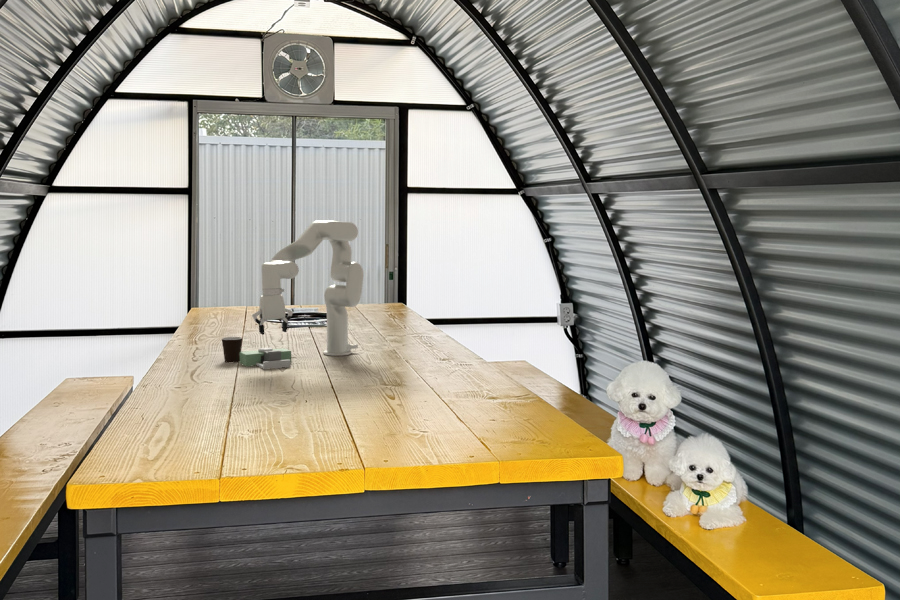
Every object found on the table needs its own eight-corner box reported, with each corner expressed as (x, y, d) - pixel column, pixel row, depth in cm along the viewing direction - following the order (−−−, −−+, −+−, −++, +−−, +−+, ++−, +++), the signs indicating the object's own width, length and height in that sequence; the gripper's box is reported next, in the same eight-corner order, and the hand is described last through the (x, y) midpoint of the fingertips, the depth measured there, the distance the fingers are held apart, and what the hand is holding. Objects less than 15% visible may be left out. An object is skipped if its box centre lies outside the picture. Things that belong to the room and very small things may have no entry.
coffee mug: (237, 363, 343) (236, 340, 342) (218, 362, 344) (218, 339, 343) (249, 358, 354) (248, 336, 353) (231, 357, 356) (230, 335, 355)
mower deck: (284, 359, 353) (284, 345, 352) (300, 366, 338) (300, 351, 337) (239, 363, 342) (239, 349, 342) (253, 370, 327) (253, 355, 326)
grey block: (275, 364, 342) (275, 348, 341) (281, 367, 336) (281, 350, 335) (264, 365, 339) (263, 349, 338) (269, 368, 333) (269, 351, 332)
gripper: (288, 290, 342) (289, 329, 344) (248, 293, 333) (250, 333, 335) (294, 291, 335) (296, 332, 338) (254, 294, 326) (256, 336, 329)
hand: (273, 332), depth 336 cm, fingers open, 9 cm apart
